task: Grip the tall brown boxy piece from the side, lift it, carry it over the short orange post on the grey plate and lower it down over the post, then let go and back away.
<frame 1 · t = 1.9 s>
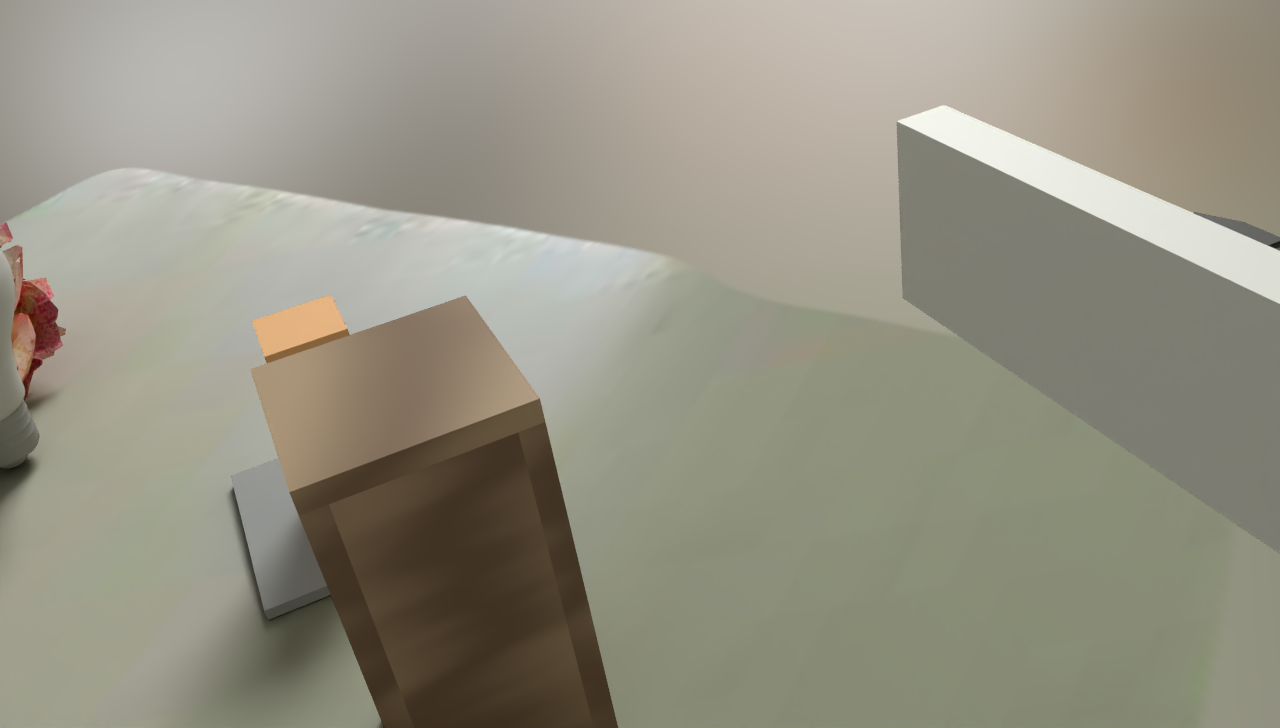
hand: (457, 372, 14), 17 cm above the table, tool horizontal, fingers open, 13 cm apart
post: (363, 503, 41), on the table
lightbulb: (17, 467, 46), on the table
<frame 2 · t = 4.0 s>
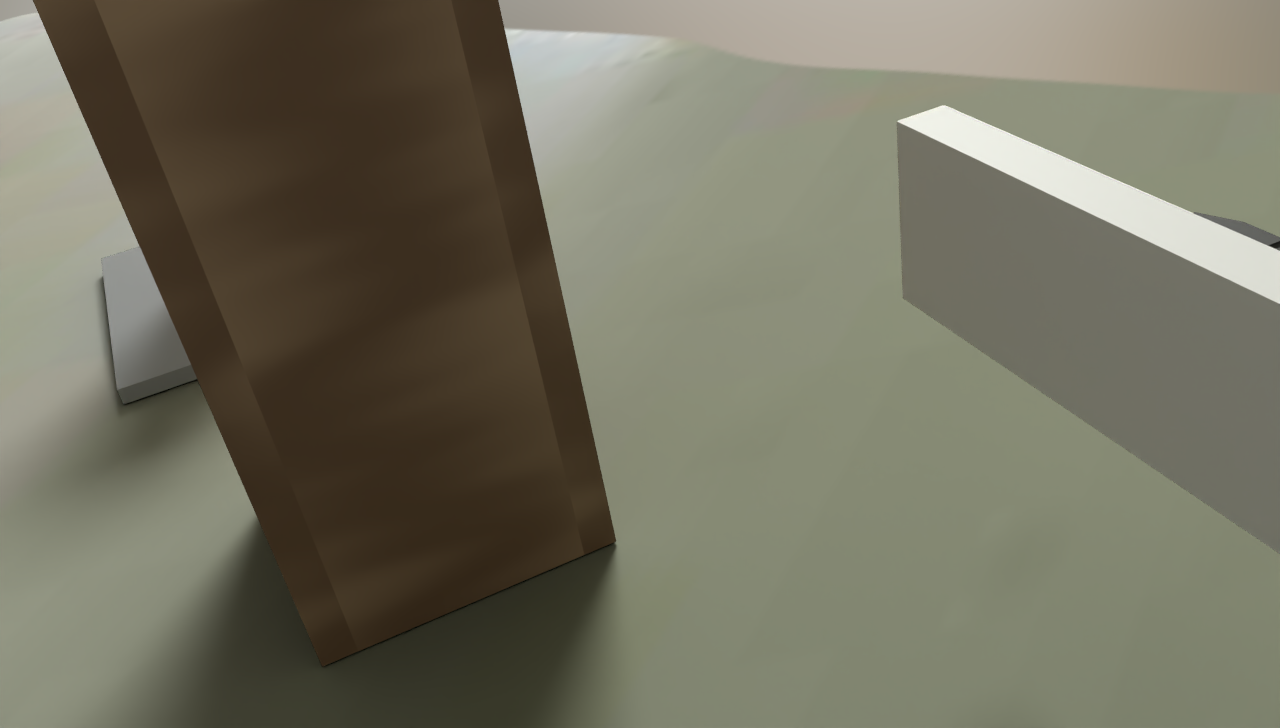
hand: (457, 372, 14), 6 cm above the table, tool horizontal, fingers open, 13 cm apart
brown boxy piece: (432, 516, 21), on the table
post: (269, 279, 31), on the table
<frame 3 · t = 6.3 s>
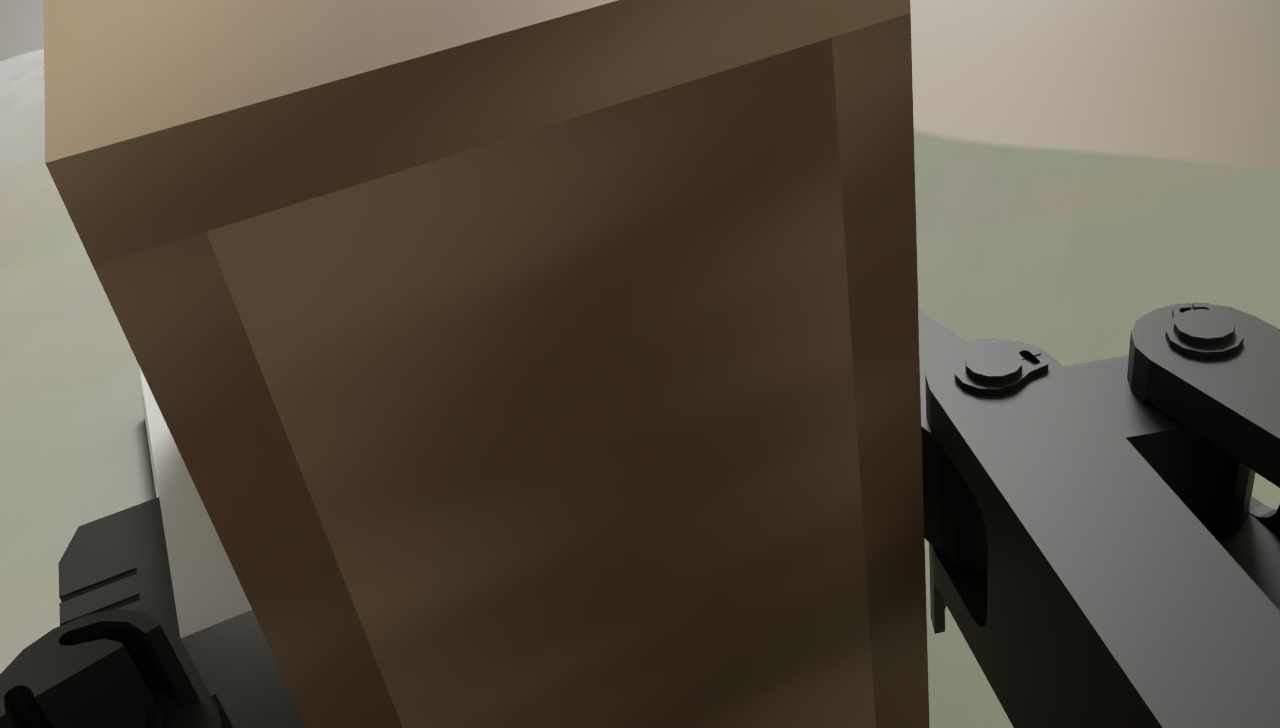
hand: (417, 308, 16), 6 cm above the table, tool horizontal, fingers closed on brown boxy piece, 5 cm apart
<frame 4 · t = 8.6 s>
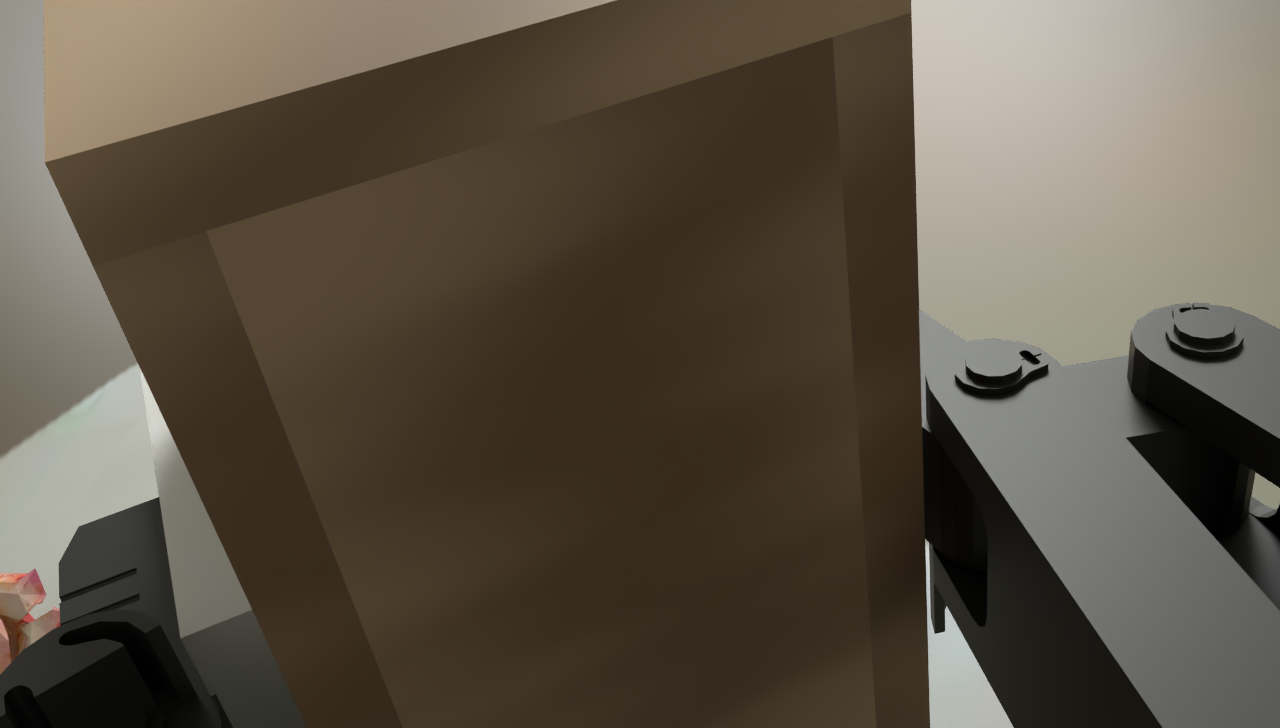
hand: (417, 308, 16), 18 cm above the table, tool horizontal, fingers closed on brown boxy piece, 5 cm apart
when the fingers open (7 cm above the table, at t = 11.1 s): brown boxy piece drops 1 cm, resting on post.
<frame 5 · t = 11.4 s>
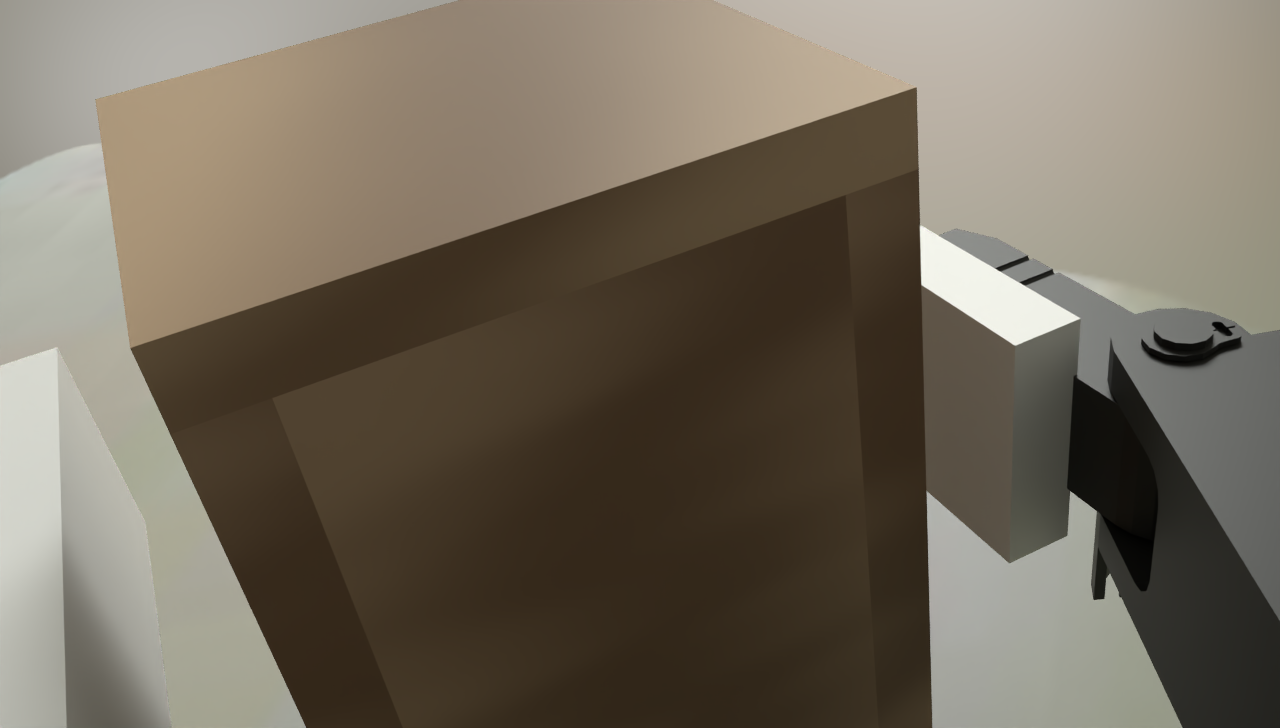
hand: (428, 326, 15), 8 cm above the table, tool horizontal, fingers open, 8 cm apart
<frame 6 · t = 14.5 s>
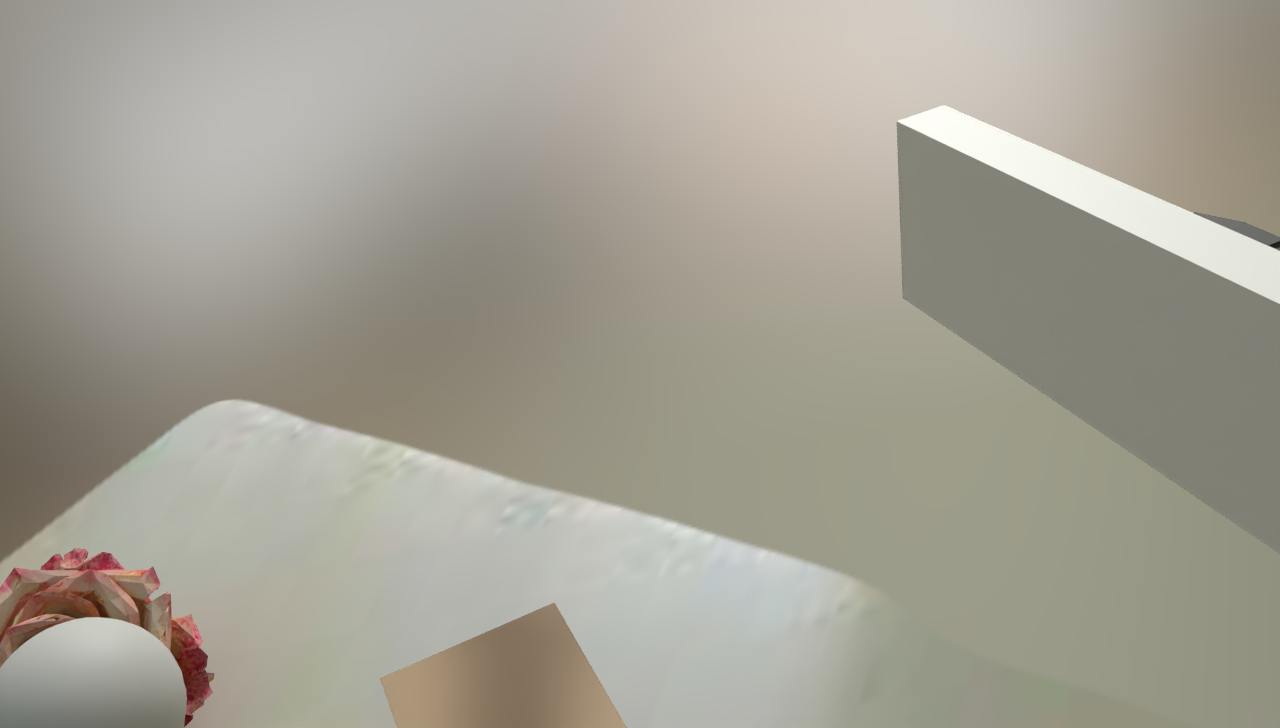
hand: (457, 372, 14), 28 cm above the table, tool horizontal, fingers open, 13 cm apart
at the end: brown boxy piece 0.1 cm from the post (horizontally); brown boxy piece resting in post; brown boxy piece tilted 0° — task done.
